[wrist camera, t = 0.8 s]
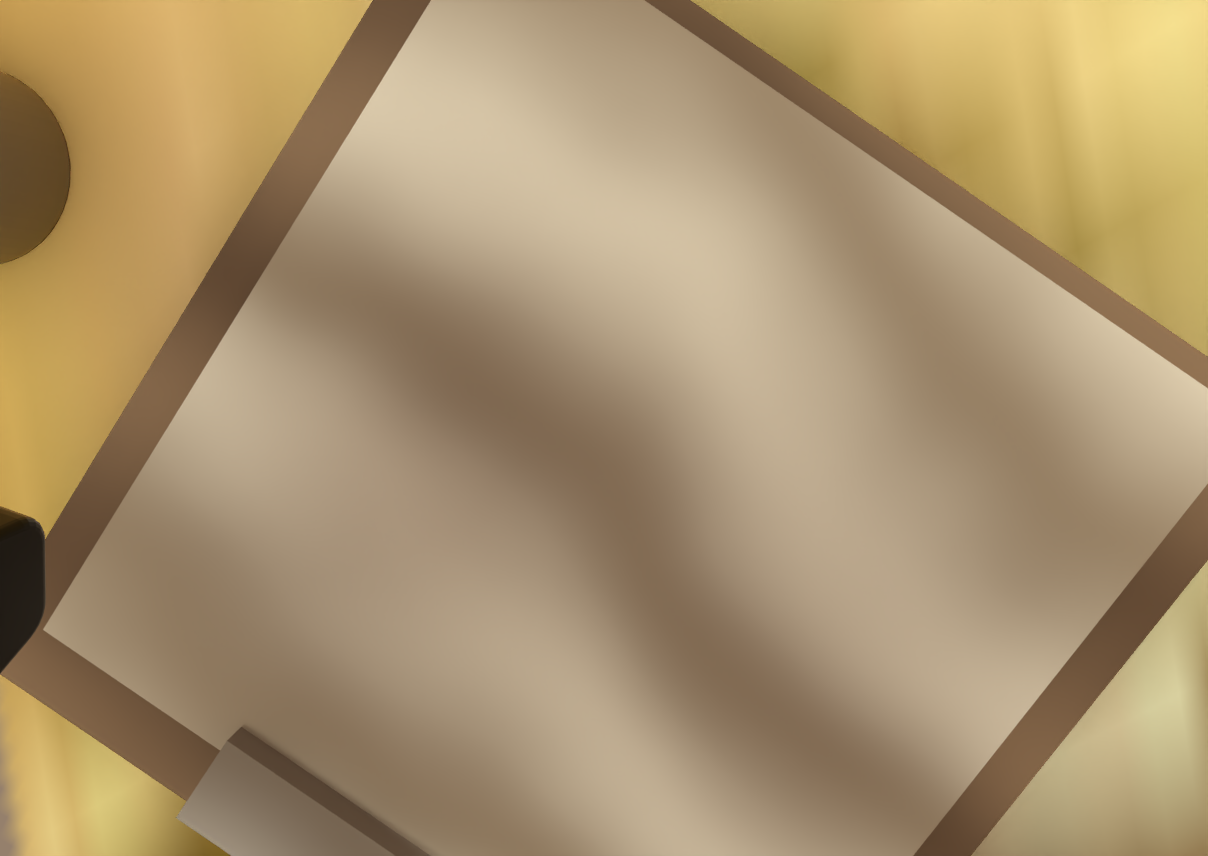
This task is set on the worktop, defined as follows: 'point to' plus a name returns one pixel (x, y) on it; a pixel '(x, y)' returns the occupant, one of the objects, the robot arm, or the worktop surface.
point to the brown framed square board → (617, 472)
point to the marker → (29, 169)
